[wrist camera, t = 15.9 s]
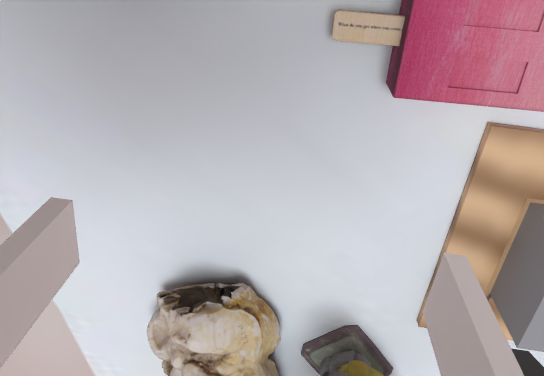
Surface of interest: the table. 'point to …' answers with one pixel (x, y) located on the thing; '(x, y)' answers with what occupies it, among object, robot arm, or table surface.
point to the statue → (346, 354)
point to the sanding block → (523, 279)
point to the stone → (214, 332)
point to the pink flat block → (458, 50)
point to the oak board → (494, 201)
